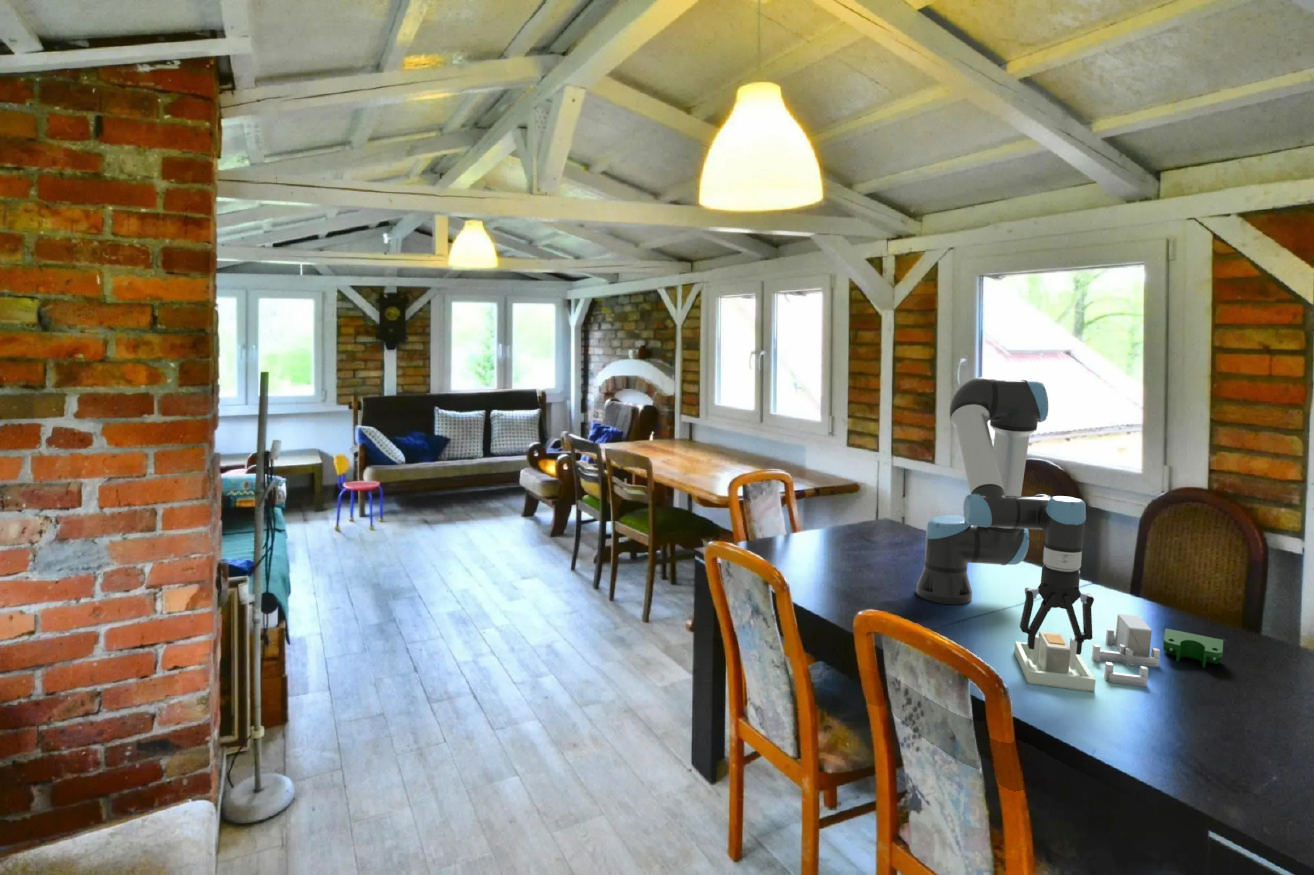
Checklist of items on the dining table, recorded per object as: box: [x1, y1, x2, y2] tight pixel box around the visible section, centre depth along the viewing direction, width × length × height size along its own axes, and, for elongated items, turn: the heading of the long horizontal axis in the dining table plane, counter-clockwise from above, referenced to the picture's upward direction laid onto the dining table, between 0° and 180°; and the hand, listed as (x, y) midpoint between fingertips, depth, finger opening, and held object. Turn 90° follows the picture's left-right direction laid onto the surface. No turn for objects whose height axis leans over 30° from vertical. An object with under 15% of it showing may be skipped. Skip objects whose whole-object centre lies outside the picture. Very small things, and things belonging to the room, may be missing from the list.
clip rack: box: [1091, 628, 1161, 688], centre depth 175 cm, size 14×26×4 cm, turn 164°
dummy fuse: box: [1114, 613, 1153, 656], centre depth 179 cm, size 5×9×8 cm, turn 164°
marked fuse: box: [1037, 630, 1070, 674], centre depth 170 cm, size 5×9×7 cm, turn 164°
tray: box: [1013, 640, 1096, 693], centre depth 170 cm, size 13×17×3 cm
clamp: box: [1163, 628, 1224, 668], centre depth 176 cm, size 12×6×9 cm, turn 46°
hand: (1052, 664), depth 170 cm, fingers open, 7 cm apart
